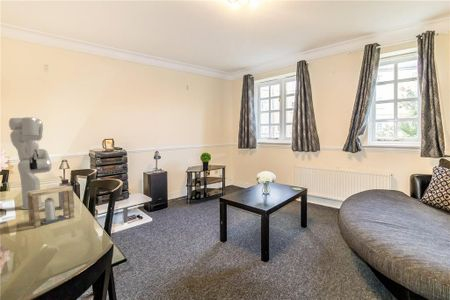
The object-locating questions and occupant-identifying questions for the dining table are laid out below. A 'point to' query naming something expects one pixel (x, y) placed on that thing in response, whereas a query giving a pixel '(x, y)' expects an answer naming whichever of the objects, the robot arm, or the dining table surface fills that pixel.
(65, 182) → the beige rectangular block
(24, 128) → the robot arm
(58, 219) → the seat guides
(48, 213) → the photo printer
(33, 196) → the wooden display stand
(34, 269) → the dining table surface
